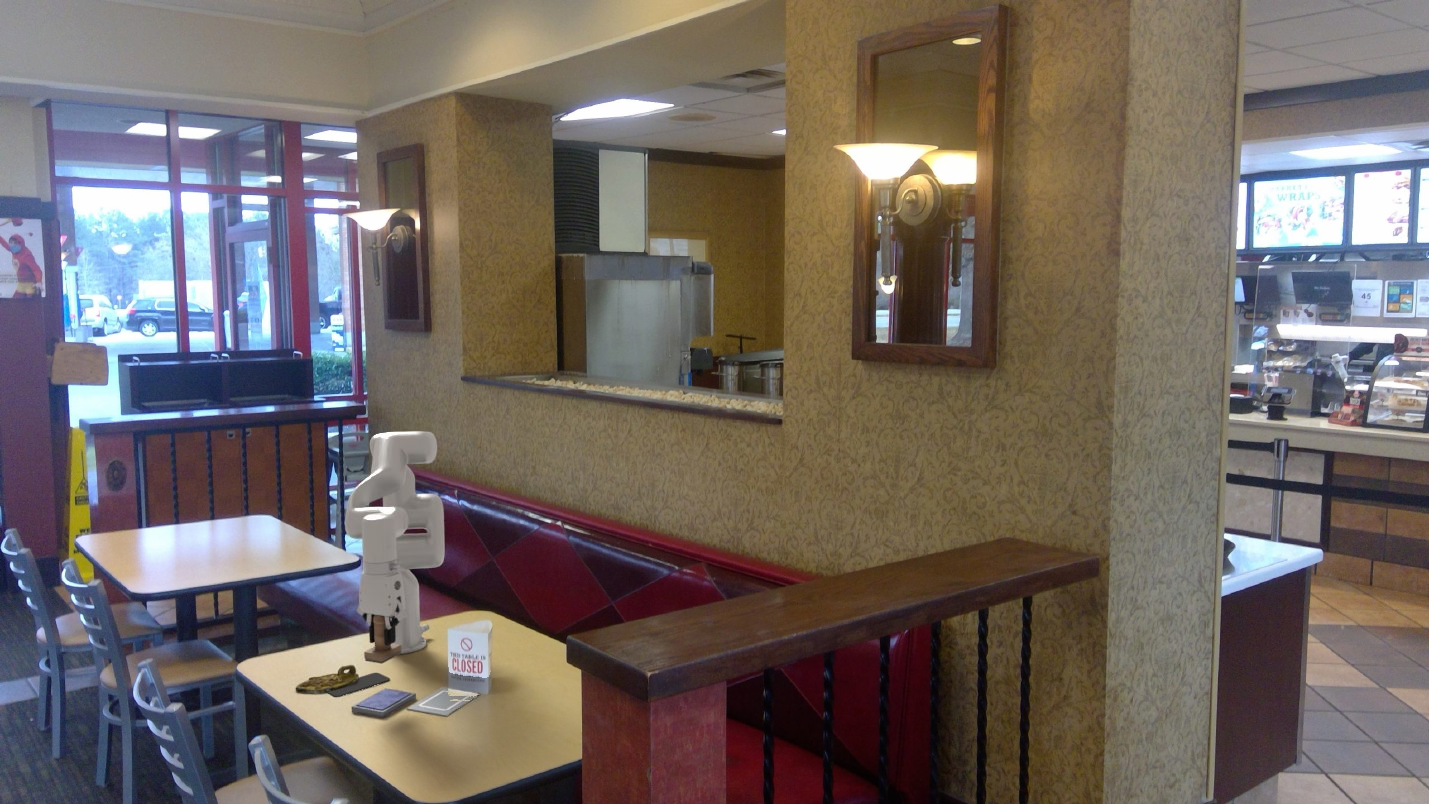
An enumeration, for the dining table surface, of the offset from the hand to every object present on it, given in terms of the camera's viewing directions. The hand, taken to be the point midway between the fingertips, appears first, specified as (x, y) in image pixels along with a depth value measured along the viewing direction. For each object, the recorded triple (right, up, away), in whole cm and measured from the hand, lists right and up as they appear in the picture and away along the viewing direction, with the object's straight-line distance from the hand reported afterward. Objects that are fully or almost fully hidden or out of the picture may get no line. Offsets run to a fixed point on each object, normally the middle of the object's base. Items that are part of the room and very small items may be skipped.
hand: (382, 641), depth 238 cm
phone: (-11, -15, +14) cm, 23 cm away
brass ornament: (-18, -15, +14) cm, 27 cm away
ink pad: (0, -15, +1) cm, 15 cm away
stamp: (0, -4, 0) cm, 4 cm away
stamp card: (+14, -15, +3) cm, 21 cm away
